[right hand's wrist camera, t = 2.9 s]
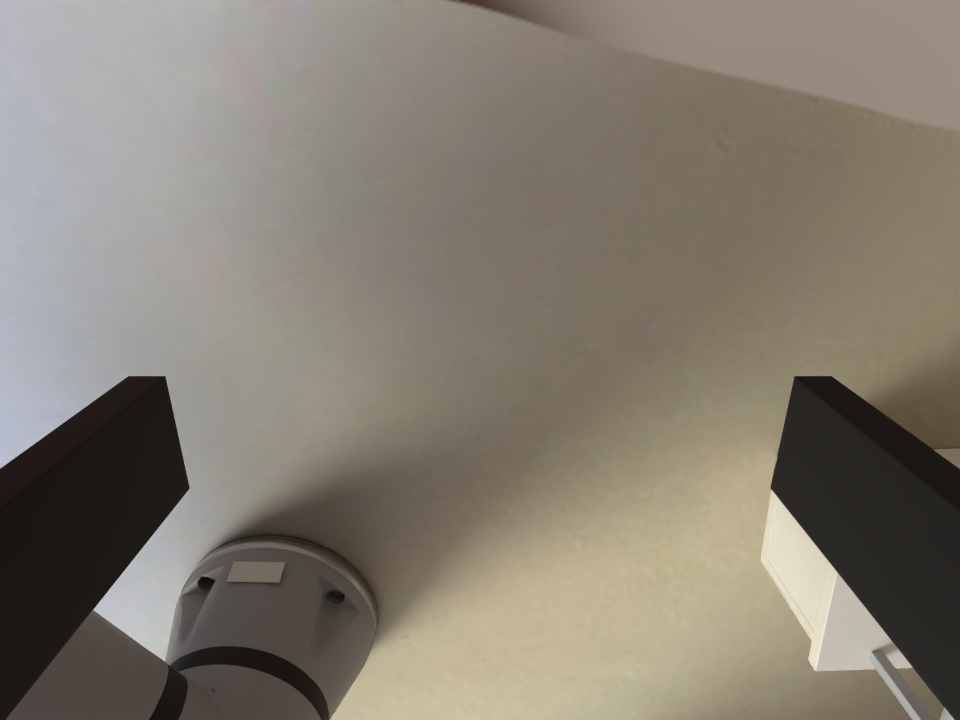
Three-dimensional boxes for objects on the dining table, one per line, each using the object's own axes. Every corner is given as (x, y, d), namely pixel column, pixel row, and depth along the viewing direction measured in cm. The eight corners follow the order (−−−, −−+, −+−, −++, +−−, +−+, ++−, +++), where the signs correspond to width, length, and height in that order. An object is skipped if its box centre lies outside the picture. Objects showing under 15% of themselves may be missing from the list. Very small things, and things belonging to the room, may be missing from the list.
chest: (760, 559, 45) (822, 658, 37) (776, 455, 42) (848, 538, 34) (932, 553, 45) (1034, 650, 37) (963, 447, 42) (1083, 529, 33)
